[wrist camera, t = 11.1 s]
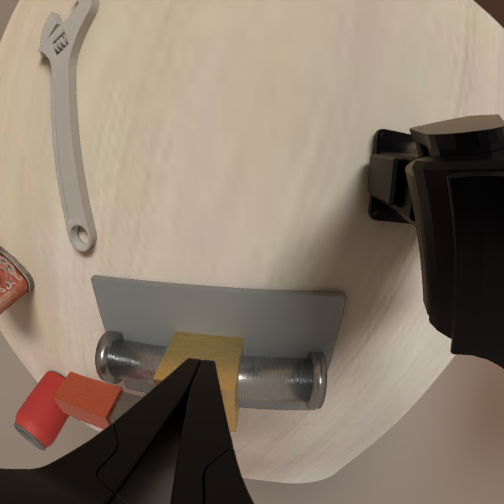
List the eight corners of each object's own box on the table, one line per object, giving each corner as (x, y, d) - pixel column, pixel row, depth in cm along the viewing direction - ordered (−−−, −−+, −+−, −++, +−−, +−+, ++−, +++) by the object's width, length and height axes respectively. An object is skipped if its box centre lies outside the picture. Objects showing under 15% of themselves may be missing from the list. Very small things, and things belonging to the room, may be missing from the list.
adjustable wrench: (104, 245, 22) (93, 252, 20) (56, 244, 22) (45, 251, 21) (105, -13, 12) (95, -19, 11) (55, 12, 13) (45, 8, 11)
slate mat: (344, 292, 21) (346, 296, 21) (315, 405, 27) (315, 409, 26) (94, 275, 22) (90, 278, 22) (128, 384, 28) (126, 388, 28)
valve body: (323, 336, 23) (335, 393, 17) (313, 380, 25) (318, 434, 19) (112, 316, 24) (79, 359, 18) (126, 360, 26) (101, 403, 20)
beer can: (42, 363, 30) (3, 414, 19) (72, 377, 30) (34, 436, 19) (56, 390, 32) (24, 439, 21) (85, 404, 32) (55, 459, 21)
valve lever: (214, 405, 18) (206, 442, 15) (216, 420, 19) (209, 455, 16) (70, 371, 19) (52, 396, 15) (78, 387, 19) (63, 412, 16)
